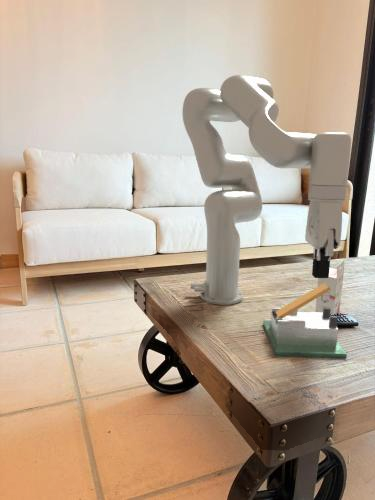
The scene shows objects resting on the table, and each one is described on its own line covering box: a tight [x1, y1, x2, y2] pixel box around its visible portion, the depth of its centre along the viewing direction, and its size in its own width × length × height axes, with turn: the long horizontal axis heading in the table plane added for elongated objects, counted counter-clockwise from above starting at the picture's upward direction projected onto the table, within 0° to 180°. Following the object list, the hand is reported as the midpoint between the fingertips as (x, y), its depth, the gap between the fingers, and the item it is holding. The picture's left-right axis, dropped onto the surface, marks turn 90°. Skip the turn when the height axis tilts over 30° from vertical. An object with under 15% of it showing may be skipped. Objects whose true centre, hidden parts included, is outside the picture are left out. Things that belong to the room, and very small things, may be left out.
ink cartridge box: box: [314, 259, 345, 315], centre depth 105 cm, size 9×5×15 cm, turn 148°
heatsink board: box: [262, 307, 348, 359], centre depth 90 cm, size 15×16×7 cm
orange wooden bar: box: [276, 283, 330, 318], centre depth 89 cm, size 13×3×1 cm
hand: (320, 276), depth 87 cm, fingers closed
